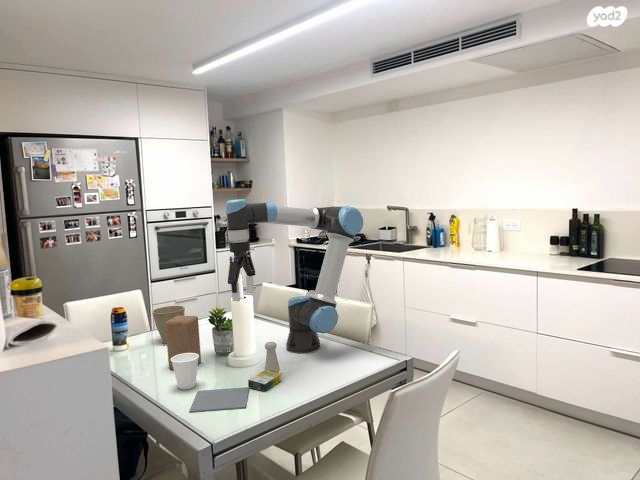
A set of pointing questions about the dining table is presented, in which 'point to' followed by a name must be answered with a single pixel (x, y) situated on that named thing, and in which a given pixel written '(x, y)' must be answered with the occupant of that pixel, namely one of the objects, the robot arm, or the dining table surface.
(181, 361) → the cup
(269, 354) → the salt shaker
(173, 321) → the wooden block
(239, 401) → the mat
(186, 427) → the dining table surface
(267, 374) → the crayon box
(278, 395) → the dining table surface
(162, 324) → the plant pot
